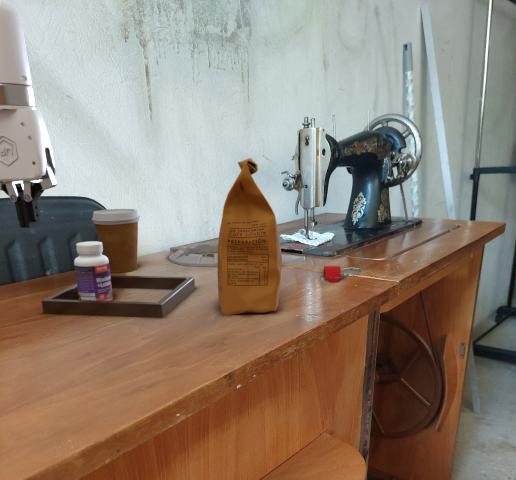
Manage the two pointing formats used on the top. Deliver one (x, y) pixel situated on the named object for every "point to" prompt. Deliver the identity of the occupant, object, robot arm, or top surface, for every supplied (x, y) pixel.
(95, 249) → the pill bottle
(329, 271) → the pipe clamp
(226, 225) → the coffee package
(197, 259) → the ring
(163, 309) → the walnut frame
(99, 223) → the disposable coffee cup
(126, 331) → the top surface
